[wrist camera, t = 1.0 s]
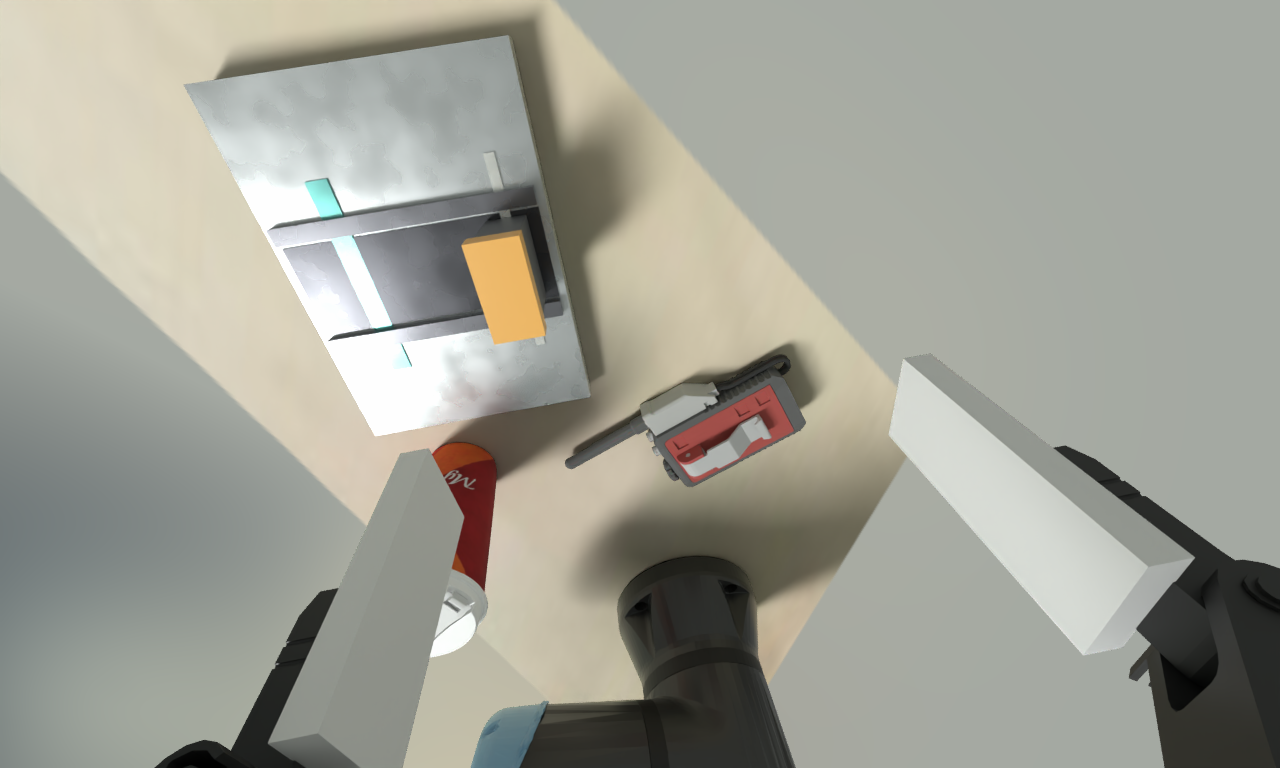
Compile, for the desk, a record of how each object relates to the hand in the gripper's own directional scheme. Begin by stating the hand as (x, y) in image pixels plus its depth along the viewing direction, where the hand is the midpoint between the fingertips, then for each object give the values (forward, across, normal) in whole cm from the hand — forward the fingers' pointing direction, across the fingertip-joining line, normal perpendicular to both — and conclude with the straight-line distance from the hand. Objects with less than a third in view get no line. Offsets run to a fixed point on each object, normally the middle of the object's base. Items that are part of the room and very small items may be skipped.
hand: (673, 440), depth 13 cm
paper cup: (+21, +16, +17) cm, 31 cm away
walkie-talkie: (+22, -3, +17) cm, 28 cm away
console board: (+21, +12, 0) cm, 24 cm away
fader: (+19, +6, 0) cm, 20 cm away
